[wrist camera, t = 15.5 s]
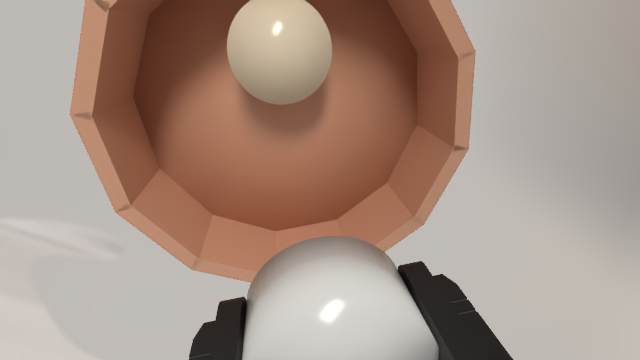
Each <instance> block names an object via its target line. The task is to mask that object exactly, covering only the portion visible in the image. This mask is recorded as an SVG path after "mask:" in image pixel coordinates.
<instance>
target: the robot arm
mask: <svg viewBox="0 0 640 360" xmlns="http://www.w3.org/2000/svg"><path fill="white" fill-rule="evenodd" d="M398 272H399V274H400V276H401V278H402V279H403V281H404V283H405V285H406V287H407V289H408V290H409V292H410V294H411V296H412V298H413V300H414V302H415V303H416V305H417V307H418V309H419V311H420V313H421V314H422V316H423V318H424V320H425V322H426V324H427V326H428V327H429V329H430V331H431V333H432V335H433V337H434V339H435V340H436V342H437V345H438V347H439V358H438V360H513V359H512V358H511V357H510V355H509V354H508V352H507V351H506V350H505V348H504V347H503V346H502V344H501V343H500V342H499V340H498V339H497V338H496V336H495V335H494V334H493V332H492V331H491V329H490V328H489V327H488V325H487V324H486V323H485V321H484V320H483V319H482V317H481V316H480V315H479V313H478V312H476V311H475V308H474V307H473V305H472V304H471V303H470V301H469V300H467V297H466V296H465V295H464V293H463V292H462V290H460V288H459V286H458V285H457V284H456V283H454V282H453V281H451V280H450V279H448V278H447V277H446V276H444V275H443V274H440V275H436V276H432V275H431V273H430V272H429V270H428V269H427V267H426V266H425V264H424V263H423V262H422V261H419V262H414V263H409V264H405V265H400V266H399V267H398ZM246 303H247V301H246V299H245V297H241V298H235V299H230V300H225V301H221V302H220V303H219V305H218V311H217V316H216V321H211V322H207V323H204V324H203V325H202V327H201V328H200V330H199V331H198V333H197V335H196V336H195V338H194V339H193V343H192V347H191V351H190V355H189V360H242V352H243V340H244V328H245V315H246Z"/></svg>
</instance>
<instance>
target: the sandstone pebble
mask: <svg viewBox="0 0 640 360" xmlns="http://www.w3.org/2000/svg"><path fill="white" fill-rule="evenodd" d="M227 54H228V60H229V63H230V67H231V69H232V71H233V74H234V75H235V77H236V79H237V80H238V82H239V83H240V84H241V86H242V87H243V88H244V89H245V90H246V91H248V92H249V93H250V94H251V95H253V96H254V97H256V98H258V99H260V100H262V101H264V102H267V103H271V104H279V105H285V104H292V103H296V102H299V101H301V100H303V99H305V98H307V97H309V96H310V95H311V94H313V93H314V92H315V91H316V90H317V89H318V88H319V87H320V85H321V84H322V83H323V81H324V80H325V78H326V76H327V74H328V71H329V68H330V64H331V59H332V43H331V37H330V34H329V30H328V28H327V26H326V23H325V22H324V20H323V18H322V17H321V15H320V14H319V13H318V11H317V10H316V9H315V8H314V7H313V6H311V5H310V4H309V3H308V2H306V1H305V0H250V1H249V2H248V3H246V4H245V5H244V6H243V7H242V8H241V9H240V10H239V12H238V13H237V14H236V16H235V18H234V19H233V21H232V23H231V26H230V29H229V33H228V38H227Z"/></svg>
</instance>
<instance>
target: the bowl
mask: <svg viewBox="0 0 640 360" xmlns="http://www.w3.org/2000/svg"><path fill="white" fill-rule="evenodd" d="M249 1H250V0H85V6H84V14H83V22H82V29H81V36H80V44H79V52H78V58H77V66H76V73H75V81H74V88H73V96H72V103H71V111H70V114H71V115H70V116H71V118H72V120H73V122H74V124H75V126H76V129H77V131H78V133H79V135H80V137H81V139H82V141H83V144H84V146H85V148H86V150H87V152H88V154H89V156H90V158H91V161H92V163H93V165H94V167H95V169H96V171H97V174H98V176H99V178H100V180H101V182H102V184H103V187H104V189H105V191H106V193H107V195H108V197H109V200H110V201H111V204H112V206H113V208H114V210H115V212H116V213H117V214H118V215H120V216H121V217H122V218H124V219H125V220H126V221H128V222H129V223H130V224H132V225H133V226H134V227H136V228H137V229H138V230H140V231H141V232H142V233H144V234H145V235H146V236H148V237H149V238H150V239H152V240H153V241H154V242H156V243H157V244H158V245H160V246H161V247H162V248H163V249H165V250H166V251H167V252H169V253H170V254H171V255H173V256H174V257H175V258H177V259H178V260H179V261H181V262H182V263H183V264H185V265H186V266H187V267H189V268H190V269H192V270H196V271H200V272H205V273H210V274H214V275H219V276H224V277H228V278H233V279H238V280H243V281H247V282H252V281H253V279H254V277H255V276H256V274H257V273H258V271H259V270H260V269H261V268H262V266H263V265H264V264H265V263H266V262H267V261H268V260H270V259H271V258H272V257H273V256H274V255H276V254H277V253H279V252H280V251H282V250H283V249H285V248H287V247H289V246H291V245H293V244H296V243H298V242H301V241H304V240H307V239H311V238H315V237H323V236H347V237H352V238H357V239H360V240H363V241H366V242H369V243H371V244H373V245H375V246H376V247H378V248H379V249H381V250H382V251H383V252H385V251H386V250H388V249H389V248H391V247H392V246H394V245H395V244H396V243H398V242H399V241H401V240H402V239H404V238H405V237H407V236H408V235H409V234H411V233H412V232H414V231H415V230H417V229H418V228H419V227H421V226H422V225H424V223H425V221H426V220H427V218H428V217H429V215H430V213H431V212H432V210H433V208H434V207H435V205H436V203H437V201H438V200H439V198H440V196H441V195H442V193H443V191H444V189H445V188H446V186H447V185H448V183H449V181H450V179H451V178H452V176H453V174H454V173H455V171H456V169H457V168H458V166H459V164H460V163H461V161H462V159H463V158H464V156H465V154H466V152H467V151H468V149H469V135H470V121H471V107H472V92H473V77H474V64H475V50H474V48H473V45H472V43H471V41H470V39H469V37H468V35H467V33H466V31H465V29H464V27H463V25H462V23H461V21H460V18H459V16H458V14H457V12H456V10H455V8H454V6H453V4H452V2H451V0H305V1H306V2H308V3H309V4H310V5H311V6H313V7H314V8H315V9H316V10H317V11H318V13H319V14H320V15H321V17H322V18H323V20H324V22H325V23H326V26H327V28H328V30H329V34H330V37H331V43H332V59H331V64H330V68H329V71H328V74H327V76H326V78H325V80H324V81H323V83H322V84H321V85H320V87H319V88H318V89H317V90H316V91H315V92H314V93H313V94H311V95H310V96H309V97H307V98H305V99H303V100H301V101H299V102H296V103H292V104H285V105H279V104H271V103H267V102H264V101H262V100H260V99H258V98H256V97H254V96H253V95H251V94H250V93H249V92H248V91H246V90H245V89H244V88H243V87H242V86H241V84H240V83H239V82H238V80H237V79H236V77H235V75H234V74H233V71H232V69H231V67H230V63H229V60H228V54H227V38H228V33H229V29H230V26H231V23H232V21H233V19H234V18H235V16H236V14H237V13H238V12H239V10H240V9H241V8H242V7H243V6H244V5H245V4H246V3H248V2H249Z"/></svg>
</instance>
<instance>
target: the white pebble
mask: <svg viewBox="0 0 640 360" xmlns="http://www.w3.org/2000/svg"><path fill="white" fill-rule="evenodd" d="M438 358H439V347H438V345H437V342H436V340H435V339H434V337H433V335H432V333H431V331H430V329H429V327H428V326H427V324H426V322H425V320H424V318H423V316H422V314H421V313H420V311H419V309H418V307H417V305H416V303H415V302H414V300H413V298H412V296H411V294H410V292H409V290H408V289H407V287H406V285H405V283H404V281H403V279H402V278H401V276H400V274H399V272H398V270H397V268H396V266H395V265H394V263H393V262H392V260H391V259H390V258H389V256H387V255H386V254H385V253H384V252H383V251H382V250H381V249H379V248H378V247H376V246H375V245H373V244H371V243H369V242H366V241H363V240H360V239H357V238H352V237H347V236H323V237H315V238H311V239H307V240H304V241H301V242H298V243H296V244H293V245H291V246H289V247H287V248H285V249H283V250H282V251H280V252H279V253H277V254H276V255H274V256H273V257H272V258H271V259H270V260H268V261H267V262H266V263H265V264H264V265H263V266H262V268H261V269H260V270H259V271H258V273H257V274H256V276H255V277H254V279H253V281H252V283H251V285H250V288H249V291H248V295H247V303H246V315H245V328H244V340H243V352H242V360H438Z"/></svg>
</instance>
